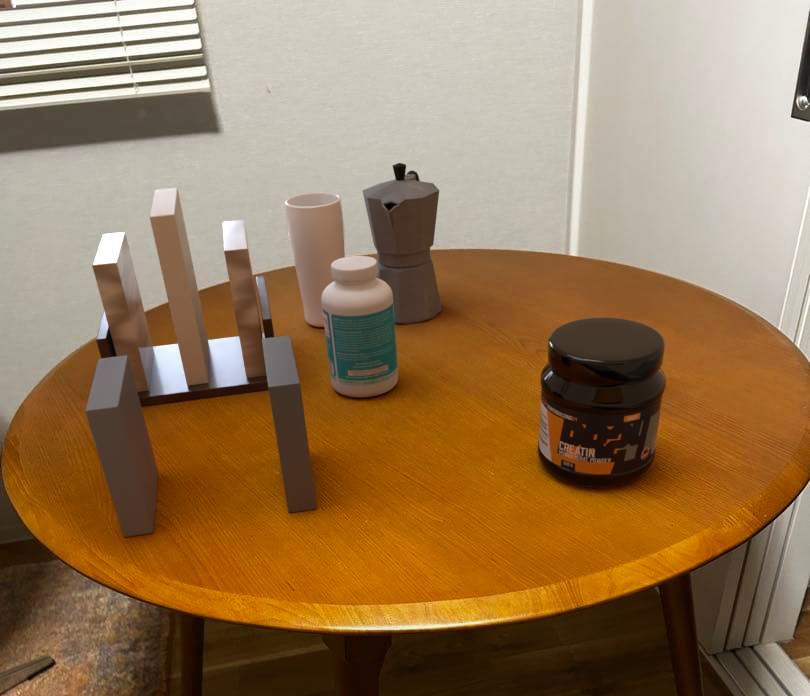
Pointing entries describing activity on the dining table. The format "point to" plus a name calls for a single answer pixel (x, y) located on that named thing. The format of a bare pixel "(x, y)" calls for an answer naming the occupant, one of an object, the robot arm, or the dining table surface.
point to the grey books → (132, 452)
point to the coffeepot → (405, 242)
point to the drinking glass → (315, 246)
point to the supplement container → (601, 401)
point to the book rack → (161, 365)
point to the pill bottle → (360, 329)
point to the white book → (180, 284)
